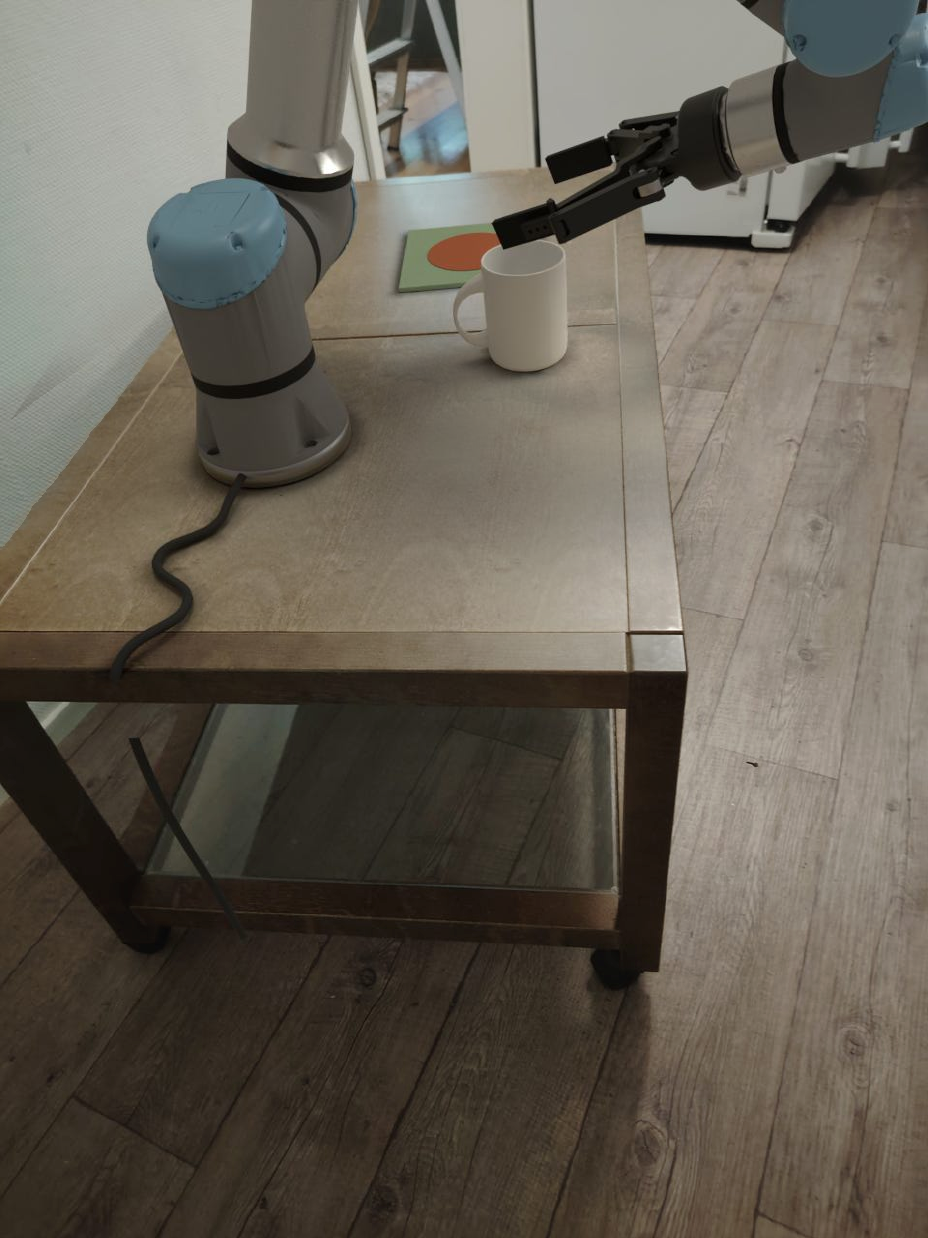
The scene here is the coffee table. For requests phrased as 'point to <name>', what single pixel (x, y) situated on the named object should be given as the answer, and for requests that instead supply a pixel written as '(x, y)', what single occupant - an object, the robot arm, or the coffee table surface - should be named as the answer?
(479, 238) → the placemat
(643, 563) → the coffee table surface
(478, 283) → the mug
